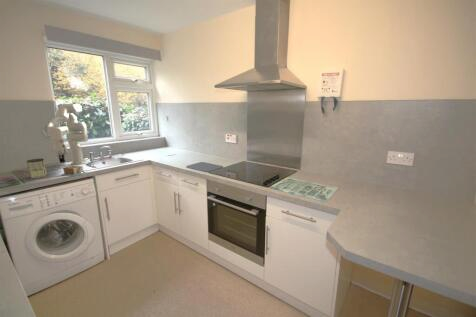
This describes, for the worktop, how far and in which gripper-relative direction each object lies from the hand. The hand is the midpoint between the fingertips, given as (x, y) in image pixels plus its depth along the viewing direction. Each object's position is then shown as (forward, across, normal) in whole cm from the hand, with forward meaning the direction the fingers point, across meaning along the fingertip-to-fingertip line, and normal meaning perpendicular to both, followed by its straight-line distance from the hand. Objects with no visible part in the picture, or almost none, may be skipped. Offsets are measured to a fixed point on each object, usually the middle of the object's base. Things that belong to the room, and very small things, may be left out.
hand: (62, 162), depth 190 cm
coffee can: (+9, +9, +14) cm, 19 cm away
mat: (+9, -14, 0) cm, 16 cm away
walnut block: (+6, -6, 0) cm, 8 cm away
